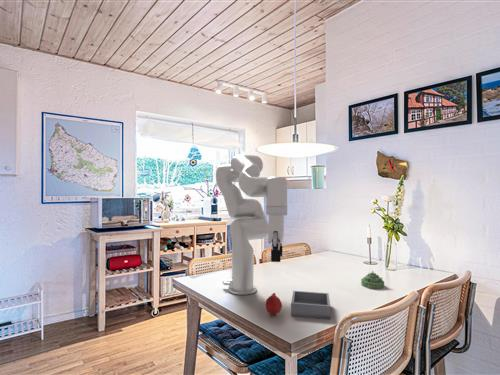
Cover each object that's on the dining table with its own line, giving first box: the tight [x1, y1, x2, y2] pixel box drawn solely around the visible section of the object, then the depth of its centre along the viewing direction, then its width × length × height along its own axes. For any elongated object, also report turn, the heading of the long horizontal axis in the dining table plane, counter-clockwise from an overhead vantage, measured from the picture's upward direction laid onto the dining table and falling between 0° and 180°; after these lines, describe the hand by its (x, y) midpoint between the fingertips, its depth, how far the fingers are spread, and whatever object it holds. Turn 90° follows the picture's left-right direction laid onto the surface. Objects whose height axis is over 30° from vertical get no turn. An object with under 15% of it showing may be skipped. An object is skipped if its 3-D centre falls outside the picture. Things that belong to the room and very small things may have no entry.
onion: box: [264, 292, 283, 317], centre depth 111 cm, size 6×6×8 cm
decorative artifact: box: [360, 270, 385, 290], centre depth 146 cm, size 10×7×10 cm
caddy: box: [290, 290, 332, 320], centre depth 116 cm, size 14×14×4 cm
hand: (277, 258), depth 112 cm, fingers open, 9 cm apart
